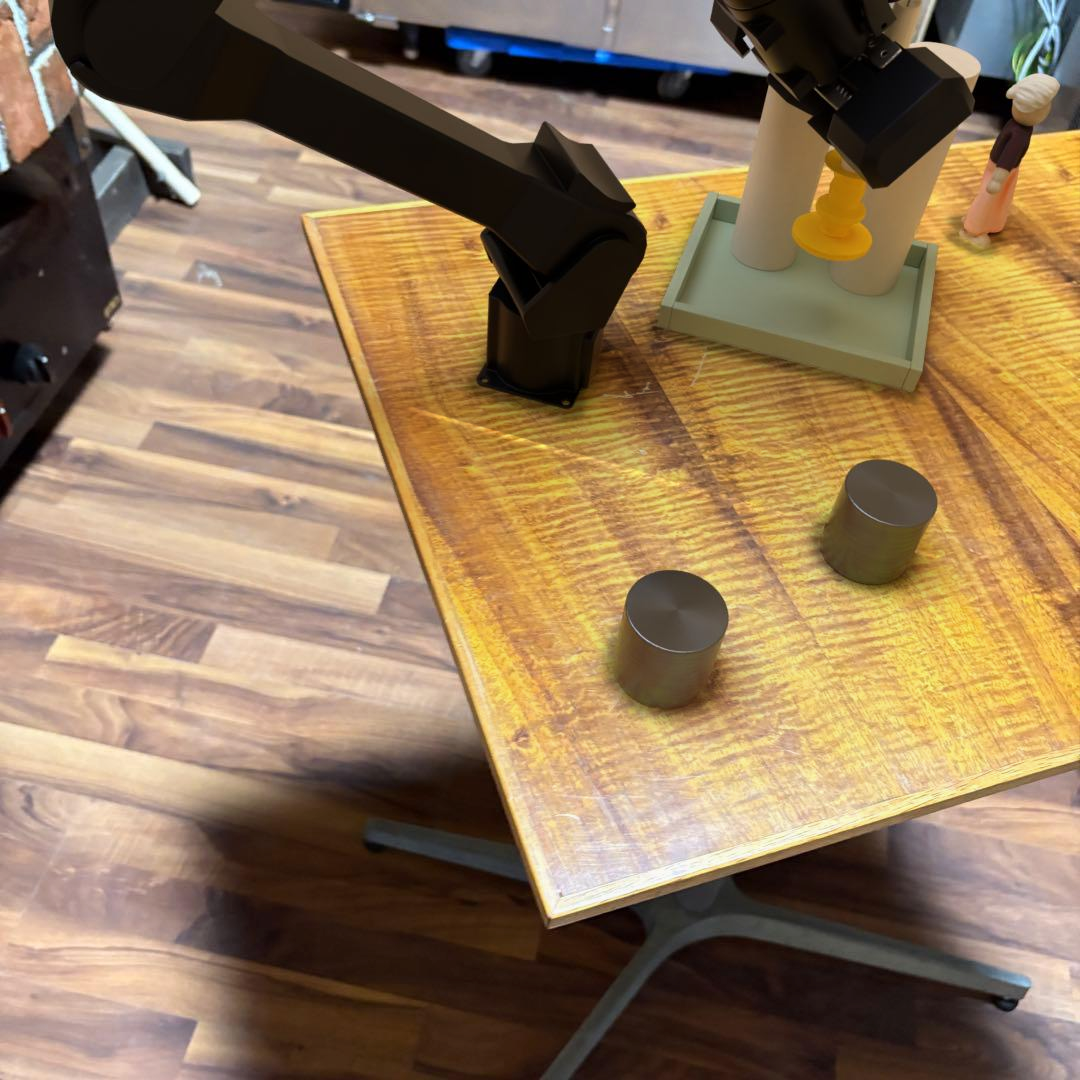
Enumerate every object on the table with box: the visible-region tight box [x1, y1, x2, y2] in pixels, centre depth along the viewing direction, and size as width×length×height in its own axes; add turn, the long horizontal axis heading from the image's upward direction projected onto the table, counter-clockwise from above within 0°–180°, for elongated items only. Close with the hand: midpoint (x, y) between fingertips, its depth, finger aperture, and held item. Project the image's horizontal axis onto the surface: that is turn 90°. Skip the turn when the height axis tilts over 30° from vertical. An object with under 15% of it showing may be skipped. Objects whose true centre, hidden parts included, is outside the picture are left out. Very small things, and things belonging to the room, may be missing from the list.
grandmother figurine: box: [958, 72, 1061, 247], centre depth 77 cm, size 8×4×13 cm, turn 168°
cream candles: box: [730, 41, 982, 296], centre depth 70 cm, size 12×5×16 cm, turn 72°
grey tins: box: [612, 458, 939, 710], centre depth 54 cm, size 5×20×5 cm, turn 125°
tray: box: [656, 190, 939, 394], centre depth 73 cm, size 18×16×2 cm
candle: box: [792, 0, 923, 261], centre depth 62 cm, size 5×5×16 cm
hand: (883, 144), depth 63 cm, fingers closed on candle
